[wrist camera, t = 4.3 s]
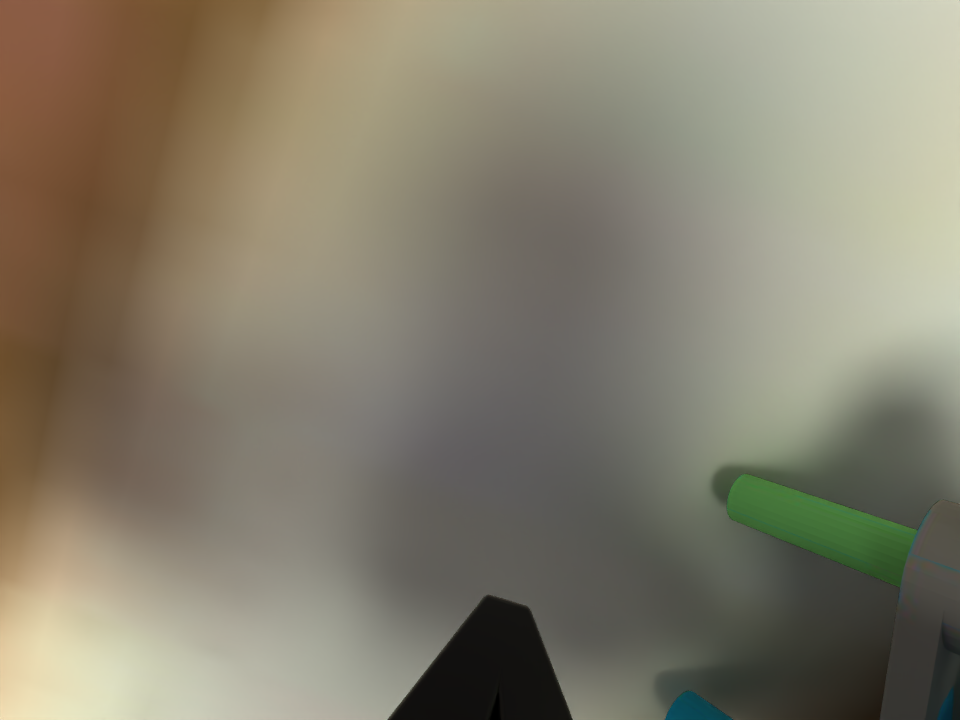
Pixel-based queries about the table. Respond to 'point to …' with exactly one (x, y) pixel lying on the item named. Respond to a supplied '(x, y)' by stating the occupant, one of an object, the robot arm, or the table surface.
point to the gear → (889, 557)
